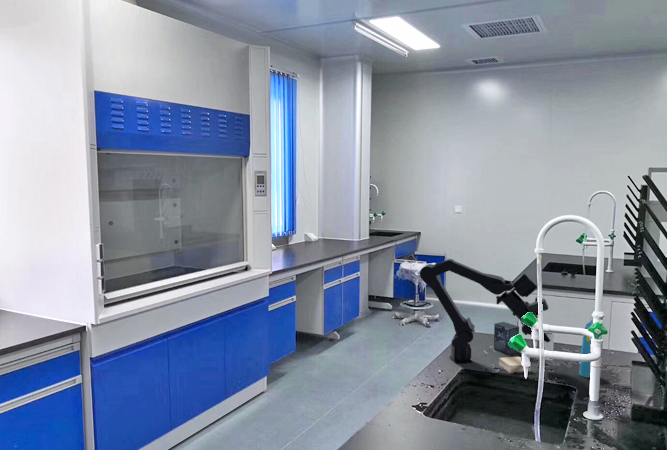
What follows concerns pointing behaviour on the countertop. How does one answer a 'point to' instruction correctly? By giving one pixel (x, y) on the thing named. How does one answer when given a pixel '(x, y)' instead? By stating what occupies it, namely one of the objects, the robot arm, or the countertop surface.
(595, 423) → the countertop surface
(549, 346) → the carton
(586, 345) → the blue plastic bottle
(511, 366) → the block
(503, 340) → the box
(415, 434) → the countertop surface
